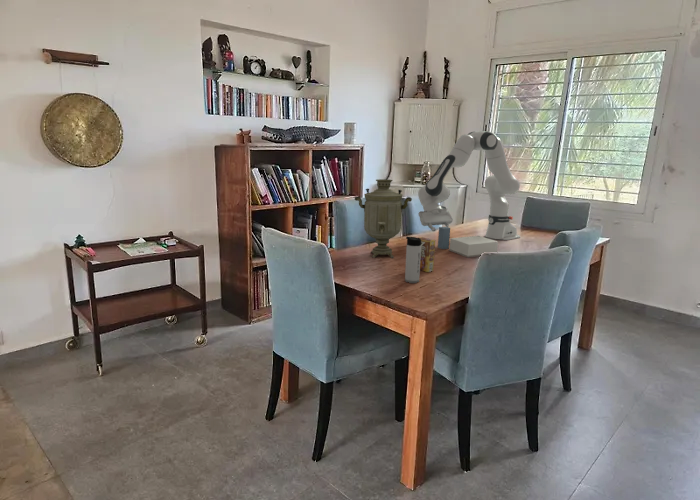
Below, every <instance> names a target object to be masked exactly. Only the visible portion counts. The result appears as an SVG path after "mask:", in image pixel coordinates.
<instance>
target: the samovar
mask: <svg viewBox="0 0 700 500" xmlns="http://www.w3.org/2000/svg"><path fill="white" fill-rule="evenodd" d="M375 181H376V183H377V184H376V186H377V188H376V189H374V191H371V192H370V188H366V189H365V191H366V193H364V194H363V195H364V198H365V199H364V200H365V201H364V204H363V200H362V198H361V196H354V200H355V202H356V201H357V202H358V206H359V207H360V208H361V209H363V213H364V216H363V217H364V219H363V221H364V222H363V224H364V225H363V227H364V231H365V232H366V234H367V235H368V236H370V237H371V238H373V239H375V244H377V245H376V246H375V247H373V248H372V249H371V253H372V254H373V255H371V258H372V257H373V259H375V258H376V257H377V256H378V255H385V256H386V255H388V256H389V257H390V258H391V259H394V255H393V254H392V253H393V251H392V250H393V249H392V248H390V247H391V246H388V244H389V243H390V239H393V238H395V237H396V236H397V235H398V234H399V233H400V231H401V229H402V212H403V210H405V209H406V208H407V207H408V205H409V204H408V202H412V200H413V199H412V197H409V196H408V197H406V198H405V199H404V203H403V204H402V199H403V193H402V192H403V190H402V189H397V191H398V192H396V191H394V190H392V189H390V187H391V184H392V182H394V181H393V179H385V178H383V179H380V178H379V179H375Z"/></svg>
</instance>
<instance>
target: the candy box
mask: <svg viewBox="0 0 700 500" xmlns="http://www.w3.org/2000/svg"><path fill="white" fill-rule="evenodd" d="M417 238H420V239H421V258H420V271H421V272H422V271H423V272H425V273H430V272H431V271H432V272H434V266H435V265H434V264H435V263H434V262H435V249H436V240H435V239H431V238H428V237H423V236H419V237H417Z"/></svg>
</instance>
